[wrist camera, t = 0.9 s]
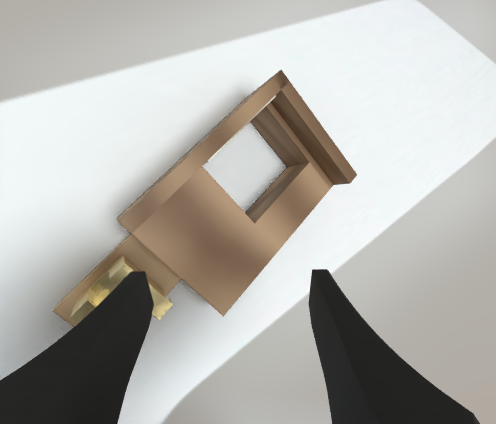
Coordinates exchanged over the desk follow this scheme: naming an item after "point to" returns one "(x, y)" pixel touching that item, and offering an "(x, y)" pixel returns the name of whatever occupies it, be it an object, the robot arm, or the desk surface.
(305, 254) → the desk surface
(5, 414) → the robot arm
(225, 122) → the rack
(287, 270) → the desk surface
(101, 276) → the clip
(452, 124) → the desk surface
